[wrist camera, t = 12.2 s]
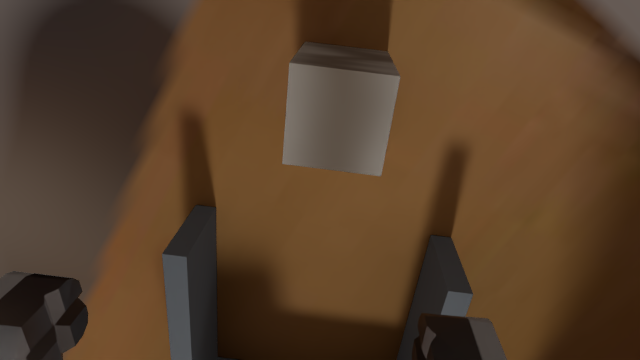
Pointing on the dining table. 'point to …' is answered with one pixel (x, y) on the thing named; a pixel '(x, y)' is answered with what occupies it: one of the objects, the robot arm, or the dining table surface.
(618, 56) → the dining table surface
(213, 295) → the open u-shaped frame
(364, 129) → the cream block
